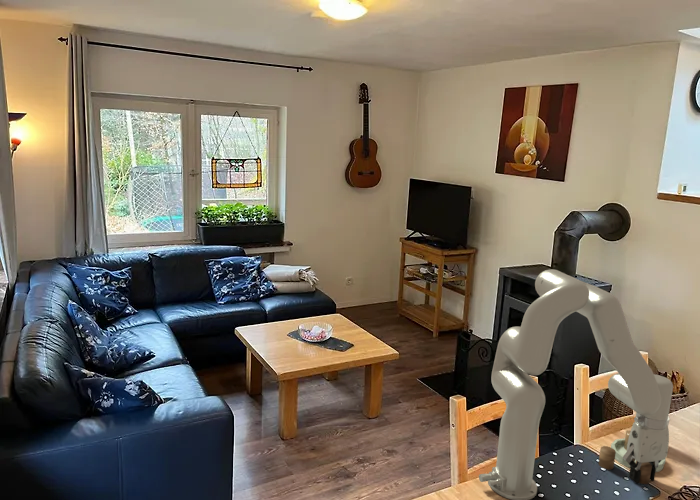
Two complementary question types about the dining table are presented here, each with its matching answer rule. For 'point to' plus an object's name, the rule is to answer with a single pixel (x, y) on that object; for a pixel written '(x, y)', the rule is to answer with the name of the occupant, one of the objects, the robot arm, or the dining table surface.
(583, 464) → the dining table surface
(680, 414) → the dining table surface
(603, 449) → the bead
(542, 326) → the robot arm
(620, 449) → the tray
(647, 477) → the bead
